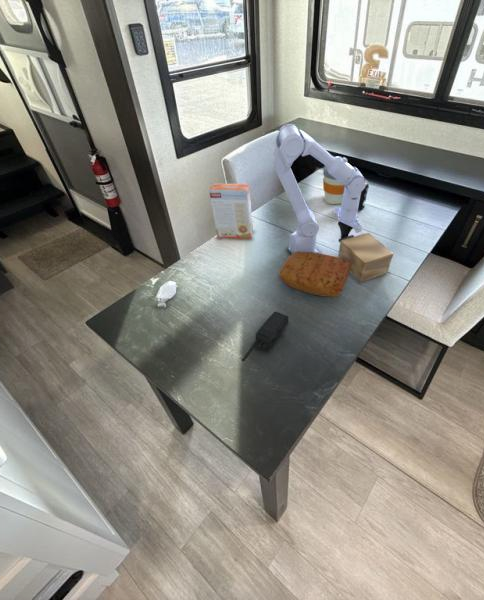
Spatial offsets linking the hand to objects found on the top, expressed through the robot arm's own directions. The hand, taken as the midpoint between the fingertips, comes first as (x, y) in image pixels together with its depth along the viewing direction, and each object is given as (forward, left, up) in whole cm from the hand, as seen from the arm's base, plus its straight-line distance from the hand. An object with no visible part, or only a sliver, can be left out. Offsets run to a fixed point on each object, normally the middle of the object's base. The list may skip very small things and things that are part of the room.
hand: (344, 238), depth 118 cm
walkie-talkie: (-45, -30, -4) cm, 54 cm away
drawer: (0, -9, -3) cm, 9 cm away
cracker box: (-35, +26, -4) cm, 44 cm away
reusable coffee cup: (+17, +33, -4) cm, 38 cm away
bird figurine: (-67, +2, -4) cm, 67 cm away
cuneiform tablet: (-20, -13, -4) cm, 24 cm away
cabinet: (0, -13, -4) cm, 13 cm away
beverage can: (+22, +22, -4) cm, 32 cm away
